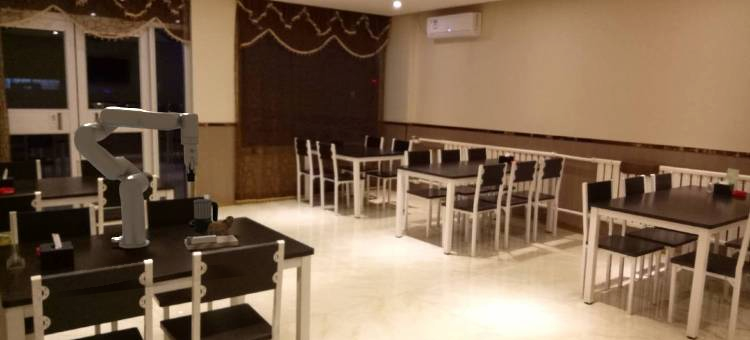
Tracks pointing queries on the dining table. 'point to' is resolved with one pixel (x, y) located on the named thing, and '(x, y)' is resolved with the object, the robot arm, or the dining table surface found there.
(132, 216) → the robot arm
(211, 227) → the lion figurine
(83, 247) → the dining table surface
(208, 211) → the milk frother
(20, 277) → the dining table surface
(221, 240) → the grey tray
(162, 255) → the dining table surface
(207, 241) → the grey lumpy rod
